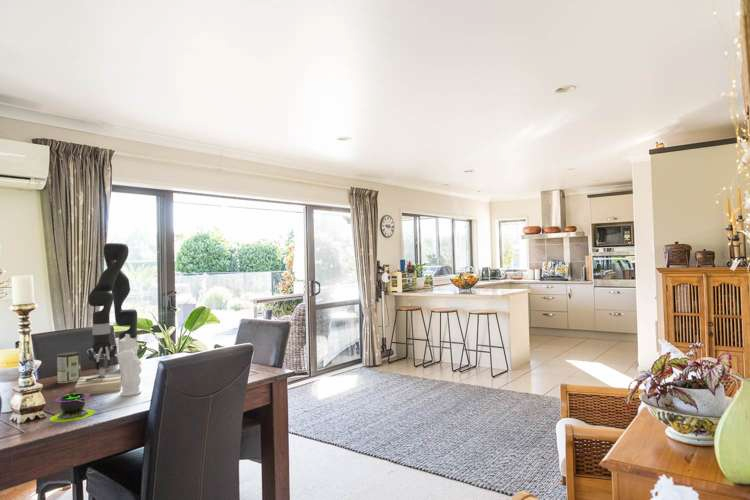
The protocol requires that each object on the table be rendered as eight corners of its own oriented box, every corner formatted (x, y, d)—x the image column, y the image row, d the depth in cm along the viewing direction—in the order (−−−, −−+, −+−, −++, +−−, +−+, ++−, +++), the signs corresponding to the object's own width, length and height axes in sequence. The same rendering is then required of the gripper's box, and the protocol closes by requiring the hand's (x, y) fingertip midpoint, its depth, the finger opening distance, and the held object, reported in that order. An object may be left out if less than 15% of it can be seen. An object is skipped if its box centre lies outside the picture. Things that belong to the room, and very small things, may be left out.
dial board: (79, 385, 236) (79, 376, 236) (121, 380, 244) (121, 371, 244) (74, 396, 215) (74, 387, 215) (120, 390, 223) (120, 381, 223)
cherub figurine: (130, 397, 210) (129, 347, 210) (106, 397, 213) (104, 347, 213) (149, 390, 222) (147, 342, 222) (125, 389, 225) (124, 342, 225)
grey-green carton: (67, 378, 252) (66, 351, 253) (85, 378, 251) (85, 351, 252) (52, 383, 242) (51, 355, 243) (71, 383, 241) (70, 354, 242)
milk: (124, 378, 249) (123, 335, 249) (120, 376, 253) (118, 334, 253) (136, 375, 253) (135, 333, 253) (132, 374, 257) (131, 332, 258)
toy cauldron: (101, 414, 187) (100, 386, 187) (56, 425, 176) (55, 394, 176) (87, 407, 197) (87, 380, 197) (44, 417, 186) (43, 388, 186)
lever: (100, 376, 235) (100, 357, 235) (108, 377, 233) (108, 358, 233) (82, 380, 227) (81, 361, 227) (90, 381, 224) (90, 362, 224)
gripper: (112, 330, 241) (112, 365, 241) (82, 334, 229) (82, 370, 229) (120, 331, 237) (120, 366, 237) (90, 335, 225) (90, 372, 225)
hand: (102, 368), depth 233 cm, fingers open, 4 cm apart
